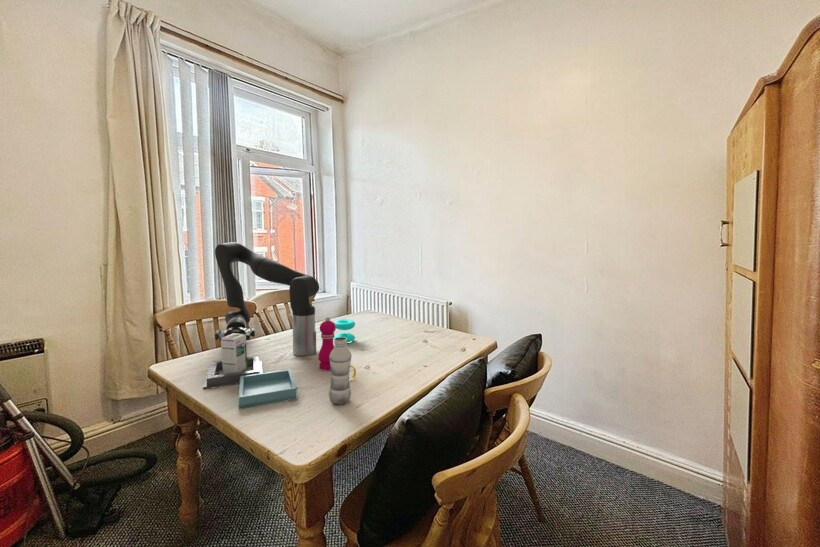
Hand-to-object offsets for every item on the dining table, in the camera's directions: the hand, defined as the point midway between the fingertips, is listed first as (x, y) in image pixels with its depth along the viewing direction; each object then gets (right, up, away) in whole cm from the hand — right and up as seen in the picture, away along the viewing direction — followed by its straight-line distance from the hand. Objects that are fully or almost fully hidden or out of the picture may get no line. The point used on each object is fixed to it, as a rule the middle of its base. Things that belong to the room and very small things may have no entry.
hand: (234, 338), depth 129 cm
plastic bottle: (+46, -15, -26) cm, 55 cm away
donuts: (+36, -8, +31) cm, 49 cm away
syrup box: (+5, -11, -9) cm, 15 cm away
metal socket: (+5, -11, -9) cm, 15 cm away
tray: (+22, -13, -22) cm, 33 cm away
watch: (+46, -13, -11) cm, 49 cm away
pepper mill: (+36, -11, -1) cm, 38 cm away
